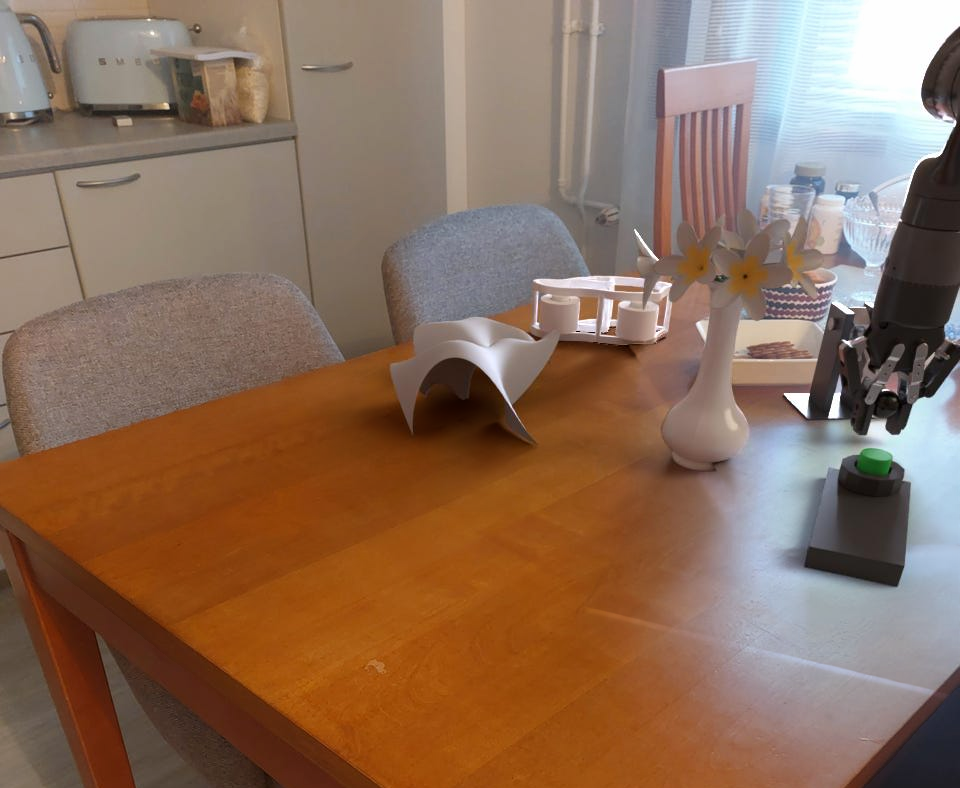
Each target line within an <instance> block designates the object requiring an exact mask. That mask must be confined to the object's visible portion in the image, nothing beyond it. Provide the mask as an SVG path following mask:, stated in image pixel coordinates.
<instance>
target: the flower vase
mask: <svg viewBox="0 0 960 788" xmlns="http://www.w3.org/2000/svg"><path fill="white" fill-rule="evenodd" d="M725 218H726V214H725V213H723V214H721V215H720V217H718V219H717V220H716V222H715V224H714V225H713V226H712V228H710V229H709V230H707V231H706V232H705V233H704V235H703V236H702V238H698V236H697V233H696V231H695V228H694V227H693V225H692V224H691V223H690V222H689V221H687V220H683V221H681V222H680V223H679V224H678V227H677V230H676V243H677V247H678V249H679V252H680V253H681V254H682V255H681V254H678V253H677V254H675V253H673V254H667V255H664V256H662V257H660V258H659V259H658V258H657V256H656V255H655V254H654V253H653V252H652V251H651V250H650V248H649V247H648V246H647V244H646V243H645V242H644V240H643V239H642V238H641V236H640V235H639V233H638V232H637V230H636V228H634V230H633V231H634V235H635V240H636V243H637V246H638V256H637V257H636V268H637V273H638V276H639V278H643V279H645V281H644V287H643V290H642V292H643V301H642V302H643V304H642V305H643V311H644V309H645V306H646V304H647V301H648V299H649V297H650V294H651V292H652V290H653V291H654V289H653V288H654V287H655V285H656V283H657V282H658V281H660V278H661V276H662V277H671V278H670V282H672V281H673V282H672V283H671V284H672V286H671V288H670V291H669V301H670V302H672V304H673V303H677V302H678V301H679V300H681V298H682V297H683V296H684V295H685V294H686V292H688V290H689V288H690V287H691V286H692V285H693V284H694V283H695V282H697V283H699V284H700V285H707V287H708V290H709V312H708V313H709V314H708V324H707V330H706V334H705V341H704V345H703V350H702V355H701V360H700V365H699V367H698V370H697V371H698V372H697V374H696V378H695V380H694V382H693V384H692V386H691V388H690V389H689V390H688V392H687V394H686V395H685V396H684V397H683V398H682V399H680V400H679V401H678V402H677V403H675V404H674V405H673V406H672V407H671V408H670V409H669V410H668V411H667V413H666V415H665V416H664V418H663V420H662V423H661V425H660V432H661V437H662V440H663V441H664V444H665V445H666V446H667V448H668V449H669V450H670V451H671V457H672V460H673V461H674V463H676V465H679V466H681V467H683V468H685V469H688V470H691V471H699V472H714V471H717V468H716V467H715V465H714V463H719V462H723V461H726V460H729V459H732V458H733V457H735V456H737V455H738V454H739V453H740V452H741V451H743V450H744V448H746V446H747V444H748V442H749V438H750V426H749V423H748V420H747V417H746V415H745V414H744V412H743V410H742V409H741V408H740V407H739V406H738V404H737V402H736V399H735V396H734V391H733V384H732V373H733V365H734V364H733V363H734V356H735V349H736V342H737V336H738V330H739V325H740V321H741V317H742V314H743V311H745V313H746V314H747V316H748V317H749V318H750V319H751V320H753V321H754V322H759V321H761V320H763V319H764V317H765V315H766V312H767V298H766V295H765V293H764V290H763V289H776V288H781V287H784V286H786V285H787V284H789V285H790V286H791V287H792V288H796V287H798V286H799V287H800V288H801V289H802V290H803V291H804V292H805V293H806V294H807V295H808V296H809V298H811V299H812V300H817V298H818V291H817V286H816V284H815V282H814V280H813V279H812V277H811V275H810V274H808V273H807V272H811V271H812V272H813V271H816V270H818V269H820V268H821V267H822V266H823V265H824V261H825V259H824V255H823V253H822V252H821V251H820V250H819V249H817V248H813V247H812V248H811V247H809V248H804V249H802V248H803V247H804V246H805V244H806V243H807V242H806V241H807V237H808V222H807V219H806V217H805V216H803V215H802V216H801V217H800V218H799V219H798V221H797V224H796V226H795V228H794V231H793V233H792V235H791V233H790V229H791V222H790V221H789V219H787V218H780V219H777V220H774V221H771V223H769V224H768V225H766V226H765V227H764V228H763V229H762V230H761V231H760V228H759V223H758V220H757V218H756V216H755V214H754V213H753V212H752V211H751V210H749V208H745V207H743V208H741V209H740V210H738V213H737V215H736V228H737V232H738V234H737V233H736V232H733V231H730V230H726V229H724V225H725V220H726V219H725ZM759 231H760V232H759ZM781 240H782V245H781V244H778V243H779V242H781ZM717 271H718V272H719V273H720V274H718V273H717ZM805 272H806V273H805Z"/></svg>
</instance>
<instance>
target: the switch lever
mask: <svg viewBox="0 0 960 788" xmlns="http://www.w3.org/2000/svg"><path fill="white" fill-rule="evenodd" d="M847 308H848V309H849V310H850V311H852V312H853V313H855V316H854V320H853V324H852V328H851V332H850V336H849V340H848V341H852V340H855V339H857V338H860V337H862V336H863V333H864V331H865V330H866V329H867V327H868V326H869V324H870V323H871V320H870V317H869V314H868V311H867V309H866V307H863V306H848V307H847ZM868 358H869V355H868V353H867V350H866V348H865V349H864V350H863V353H862V359H861V362H862V365H863V368H864V367H865V365H866V362H867V360H868ZM878 371H879V369H878ZM874 404H875V409H874V412H873V417H875V418H877V419H876V420H887V419H888V418H890V417H892V416H894V415H895V414H896V412H897V411H898V409H899V406H900V400H899V397H898V394H897V392H895V391H893V390H892V389H887V387H886V384H885V385H883V386H882V388H881V390H880V392H879V394H878V397H877V399H876V401H875V402H874Z"/></svg>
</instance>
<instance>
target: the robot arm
mask: <svg viewBox="0 0 960 788" xmlns="http://www.w3.org/2000/svg"><path fill="white" fill-rule="evenodd" d="M919 86H920V87H919V99H920V103H921V106H922V108H923V110H924V112H926V114H927V115H929V116H930V117H932V118H933V119H935V120H937V121H940V122H943V123H948V124H952V125H953V124H954V125H953V128H952V130H951V132H950V134H949V136H948V138H947V140H946V142H945V144H944V146H943V148H942V149H941V151H940V152H936V153H932V154H928V155H926V156H924V157H922V158H921V159H920V160H918V162H917V163H916V164H915V167H914V169H913V170H912V174H911V176H910V179H909V182H908V186H907V190H906V194H905V197H904V201H903V205H902V208H901V212H900V215H899V220H898V222H897V225H896V228H895V231H894V233H893V235H892V238H891V241H890V243H889V246H888V250H887V253H886V257H885V259H884V262H883V269H882V271H881V275H880V280H879V284H878V288H877V291H876V295H875V299H874V302H873V304H874V305H873V310H872V319H871V323H870V324H869V326H868V327H867V329H866V330H865V331H864V333H863V336H862V337H860V338H857V339H855V340H849V341H848V342H847V341H845V340H840V341H839V342H838V343H837V344H836V351H837V358H838V365H839V372H840V375H839V379H840V385H841V390H842V389H843V390H844V391H845V392H846V393H847V394H849V395H850V396H851V397H852V398H853V399H856V402H855V405H854V409H853V413H852V417H851V420H849V424H850V426H851V428H852V430H853V432H854V433H855V434H856V435H857V436H867V435H868V433H869V429H870V425H871V422H872V420H873V419H872V416H873V412H874V409H875V404H874V402H875V401H876V399H877V397H878V394H879V392H880V390H881V388H882V386H883V385H885V386H886V385H887V384H888V382H889V380H890V378H891V376H892V374H895V373H896V374H897V378H898V379H897V388H896V394H897V395H898V397H899V400H900V406H899V409H898V411H897V412H896V414H895V415H894V416H892V417H890V418H888V419H886V422H885V424H884V428H885V430H886V432H888V433H889V434H890V435H891V436H899V435H900V434H901V432H902V431H903V430H905V429H906V427H907V425H908V422H909V419H910V415H911V413H912V409H913V406H914V404H915V403H917V401H918V400H920V399H924V398H926V399H931V398H933V397H934V396H936V393H937V392H938V391H939V389H940V387H942V385H943V384H944V382H945V381H946V379H947V378H948V377H949V375H950V374H951V373H952V371H953V370H954V369H955V367H956V366H957V364H958V363H959V362H960V343H958V342H957V341H955V340H953V339H951V338H946V331H945V329H946V324H948V323H949V321H950V320H951V316H952V313H953V310H954V306H955V303H956V300H957V297H958V294H959V290H960V25H958V27H957V28H956V29H954V31H953V32H951V33H950V34H949V35H948V36H947V37H946V39H944V41H943V42H942V43H941V44H940V45H939V47H938V48H937V49H936V50H935V52H934V54H933V55H932V57H931V58H930V60H929V61H928V63H927V65H926V67H925V69H924V71H923V75H922V78H921V81H920V85H919ZM865 348H866V350H867V353H868V355H869V358H868V360H867V362H866V365H865V367H864V369H863V377H862V379H860V371H859V364H858V361H860V360H861V359H862V353H863V350H864V349H865ZM931 356H933V357H932V359H931V360H930V361H929V363H928V364H927V365H926V361H927V360H929V358H931ZM925 365H926V367H925ZM878 369H879V371H878Z"/></svg>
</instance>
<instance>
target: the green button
mask: <svg viewBox="0 0 960 788" xmlns="http://www.w3.org/2000/svg"><path fill="white" fill-rule="evenodd" d="M859 455H860V456H859V459H858V463H857V467H856V468H857V469H858V470H860V471H863V472H865V473H869V474H874V475H886V474H888V471H889V468H890V465H891V462H892V461H893V457H894V456H893V454H892V453H891V452H889V451H887V450H884V449H881V448H876V447H867V448H863V449H861V451H860V453H859Z"/></svg>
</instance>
